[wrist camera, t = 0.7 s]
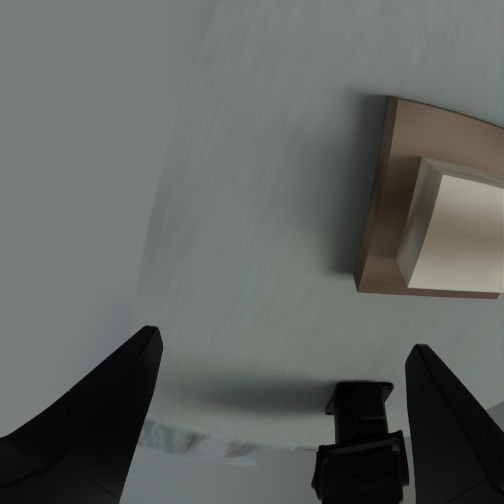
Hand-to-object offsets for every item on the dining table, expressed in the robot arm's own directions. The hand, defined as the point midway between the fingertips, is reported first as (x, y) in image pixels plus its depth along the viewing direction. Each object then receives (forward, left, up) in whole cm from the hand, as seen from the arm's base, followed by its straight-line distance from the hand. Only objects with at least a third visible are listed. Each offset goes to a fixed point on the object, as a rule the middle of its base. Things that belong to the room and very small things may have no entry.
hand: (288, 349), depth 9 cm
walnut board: (0, -12, -13) cm, 17 cm away
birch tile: (0, -11, -11) cm, 16 cm away
